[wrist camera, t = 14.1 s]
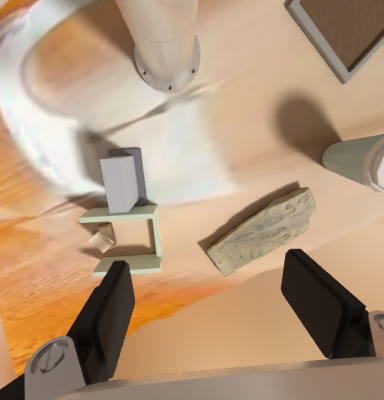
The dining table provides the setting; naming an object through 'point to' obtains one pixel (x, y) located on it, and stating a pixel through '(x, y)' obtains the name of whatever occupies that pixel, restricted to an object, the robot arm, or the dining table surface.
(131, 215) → the rack
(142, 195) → the panel
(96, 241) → the offcut
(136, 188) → the tall grey upright block
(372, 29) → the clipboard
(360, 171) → the disposable coffee cup
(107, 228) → the offcut
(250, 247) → the stone slab
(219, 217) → the dining table surface
